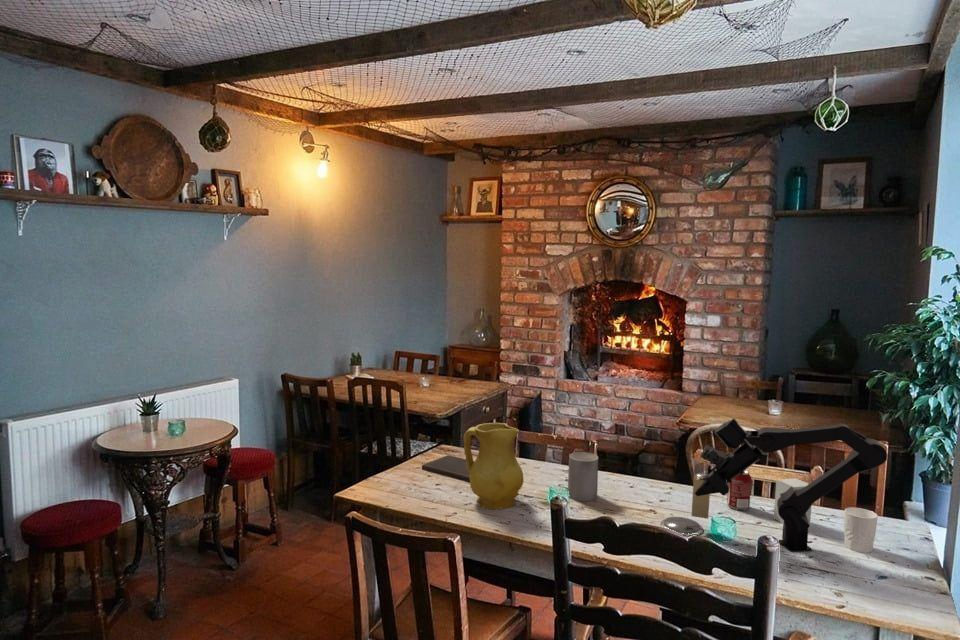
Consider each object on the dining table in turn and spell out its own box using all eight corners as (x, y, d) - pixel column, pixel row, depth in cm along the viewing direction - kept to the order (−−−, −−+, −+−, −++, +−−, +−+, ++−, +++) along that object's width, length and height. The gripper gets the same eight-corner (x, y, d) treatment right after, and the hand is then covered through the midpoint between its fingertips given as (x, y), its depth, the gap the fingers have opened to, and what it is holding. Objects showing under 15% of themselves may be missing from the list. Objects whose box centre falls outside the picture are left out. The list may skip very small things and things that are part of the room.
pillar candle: (574, 489, 218) (575, 446, 216) (601, 494, 213) (603, 451, 211) (562, 497, 209) (564, 453, 208) (590, 504, 204) (592, 458, 203)
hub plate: (710, 535, 182) (710, 531, 182) (671, 536, 181) (671, 532, 181) (691, 518, 194) (691, 515, 194) (653, 520, 193) (654, 516, 192)
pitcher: (493, 515, 192) (494, 433, 191) (456, 500, 206) (457, 423, 205) (534, 505, 202) (535, 426, 202) (495, 491, 217) (497, 418, 216)
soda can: (751, 512, 201) (753, 475, 200) (728, 510, 202) (731, 473, 201) (746, 504, 208) (749, 468, 207) (725, 502, 209) (727, 466, 208)
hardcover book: (448, 460, 248) (448, 454, 247) (497, 473, 234) (497, 467, 234) (421, 470, 235) (421, 464, 235) (471, 484, 221) (471, 478, 221)
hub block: (708, 513, 186) (711, 474, 185) (707, 518, 182) (710, 478, 181) (692, 510, 188) (694, 471, 187) (691, 516, 184) (693, 476, 183)
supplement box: (790, 528, 189) (793, 487, 188) (772, 518, 196) (775, 478, 195) (810, 526, 191) (813, 485, 190) (792, 516, 198) (795, 477, 197)
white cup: (844, 539, 182) (847, 505, 182) (876, 547, 177) (879, 512, 177) (839, 547, 176) (842, 513, 175) (872, 556, 171) (875, 520, 171)
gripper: (720, 430, 190) (679, 461, 195) (718, 446, 173) (674, 479, 178) (746, 459, 188) (705, 490, 193) (748, 478, 171) (702, 511, 176)
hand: (696, 492), depth 185 cm, fingers closed on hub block, 4 cm apart
